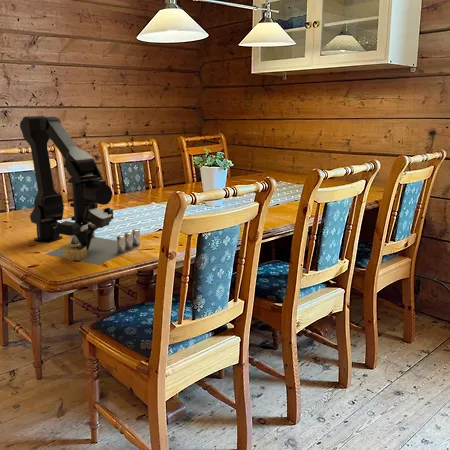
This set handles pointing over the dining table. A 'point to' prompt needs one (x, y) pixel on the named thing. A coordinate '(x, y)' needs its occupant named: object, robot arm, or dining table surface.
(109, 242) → the mat
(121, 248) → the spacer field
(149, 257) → the dining table surface
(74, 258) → the tan lobed block
